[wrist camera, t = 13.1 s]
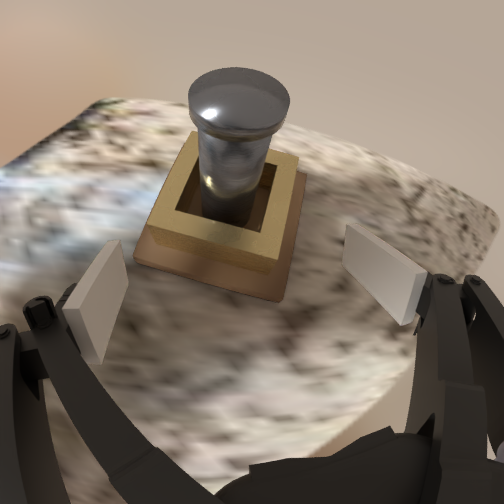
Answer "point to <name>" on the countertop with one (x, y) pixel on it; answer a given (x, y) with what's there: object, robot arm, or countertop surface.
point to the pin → (234, 137)
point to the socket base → (224, 273)
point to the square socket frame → (217, 233)
